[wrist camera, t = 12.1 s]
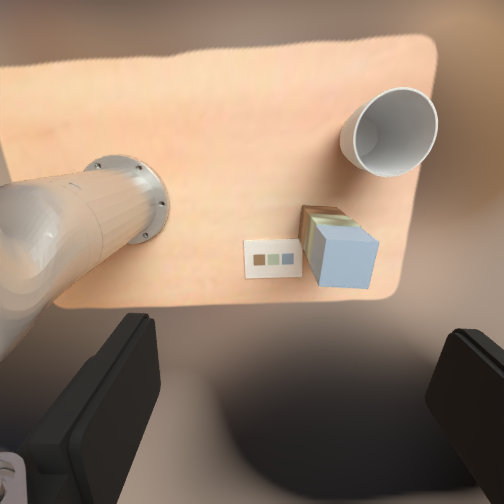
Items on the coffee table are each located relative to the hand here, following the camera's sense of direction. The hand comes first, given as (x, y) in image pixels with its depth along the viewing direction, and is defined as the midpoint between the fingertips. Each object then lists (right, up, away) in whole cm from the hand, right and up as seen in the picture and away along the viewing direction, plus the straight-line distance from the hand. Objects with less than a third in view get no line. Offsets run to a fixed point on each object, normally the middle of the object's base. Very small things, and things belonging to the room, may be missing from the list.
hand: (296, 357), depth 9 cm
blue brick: (+8, +4, +22) cm, 24 cm away
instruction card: (+2, +2, +34) cm, 34 cm away
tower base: (+8, +8, +32) cm, 34 cm away
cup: (+13, +19, +27) cm, 36 cm away
